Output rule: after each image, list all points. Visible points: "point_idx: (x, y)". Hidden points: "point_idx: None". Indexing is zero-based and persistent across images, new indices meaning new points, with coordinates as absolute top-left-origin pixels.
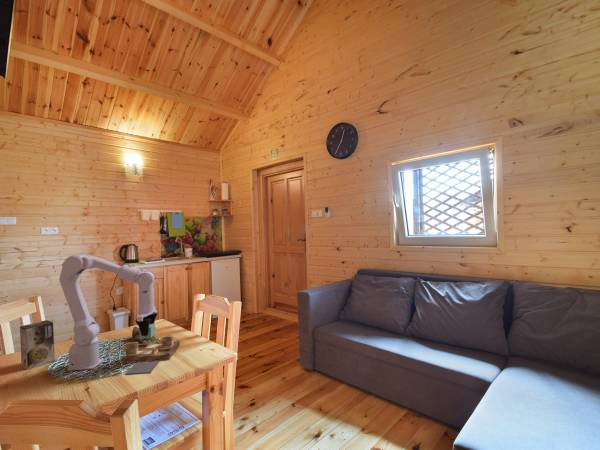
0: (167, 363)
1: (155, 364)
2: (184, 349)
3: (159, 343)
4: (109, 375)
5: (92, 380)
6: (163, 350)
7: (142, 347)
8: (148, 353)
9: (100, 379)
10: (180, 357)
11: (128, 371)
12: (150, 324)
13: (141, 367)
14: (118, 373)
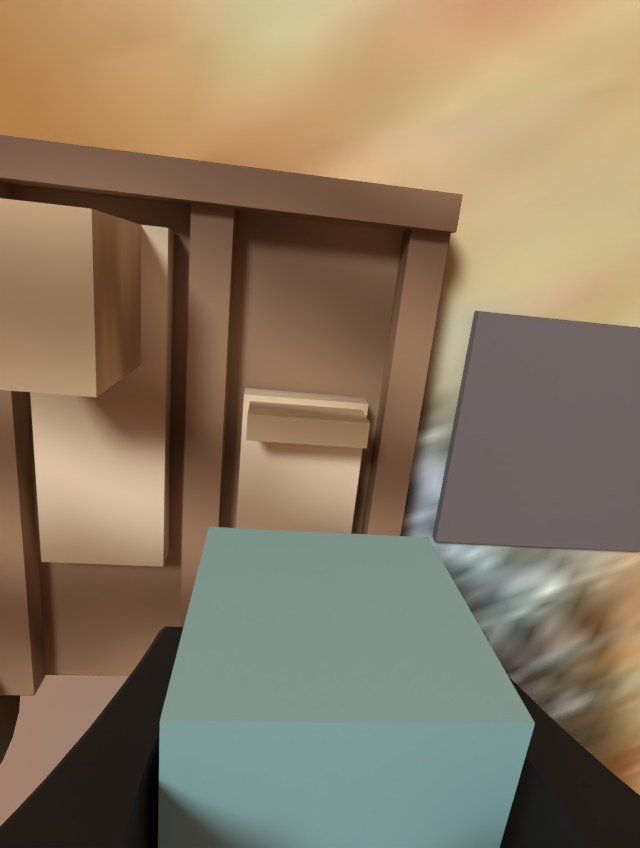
0: (538, 206)
1: (552, 332)
2: (135, 43)
3: (6, 437)
4: (590, 654)
5: (625, 727)
6: (229, 327)
7: (58, 606)
8: (346, 476)
9: (633, 686)
10: (413, 60)
11: (607, 540)
12: (222, 817)
13: (568, 454)
14: (581, 605)
